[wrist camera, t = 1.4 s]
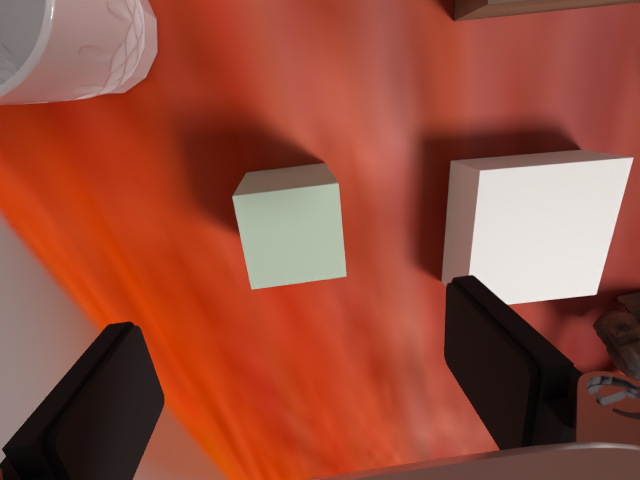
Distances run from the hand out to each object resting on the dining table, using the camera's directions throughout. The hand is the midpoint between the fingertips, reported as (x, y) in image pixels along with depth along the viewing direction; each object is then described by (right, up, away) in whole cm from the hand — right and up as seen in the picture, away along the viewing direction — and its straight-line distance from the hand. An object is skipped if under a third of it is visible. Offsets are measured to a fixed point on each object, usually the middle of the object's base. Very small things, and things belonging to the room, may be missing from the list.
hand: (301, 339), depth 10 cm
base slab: (+14, +5, +14) cm, 20 cm away
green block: (-1, +5, +12) cm, 13 cm away
